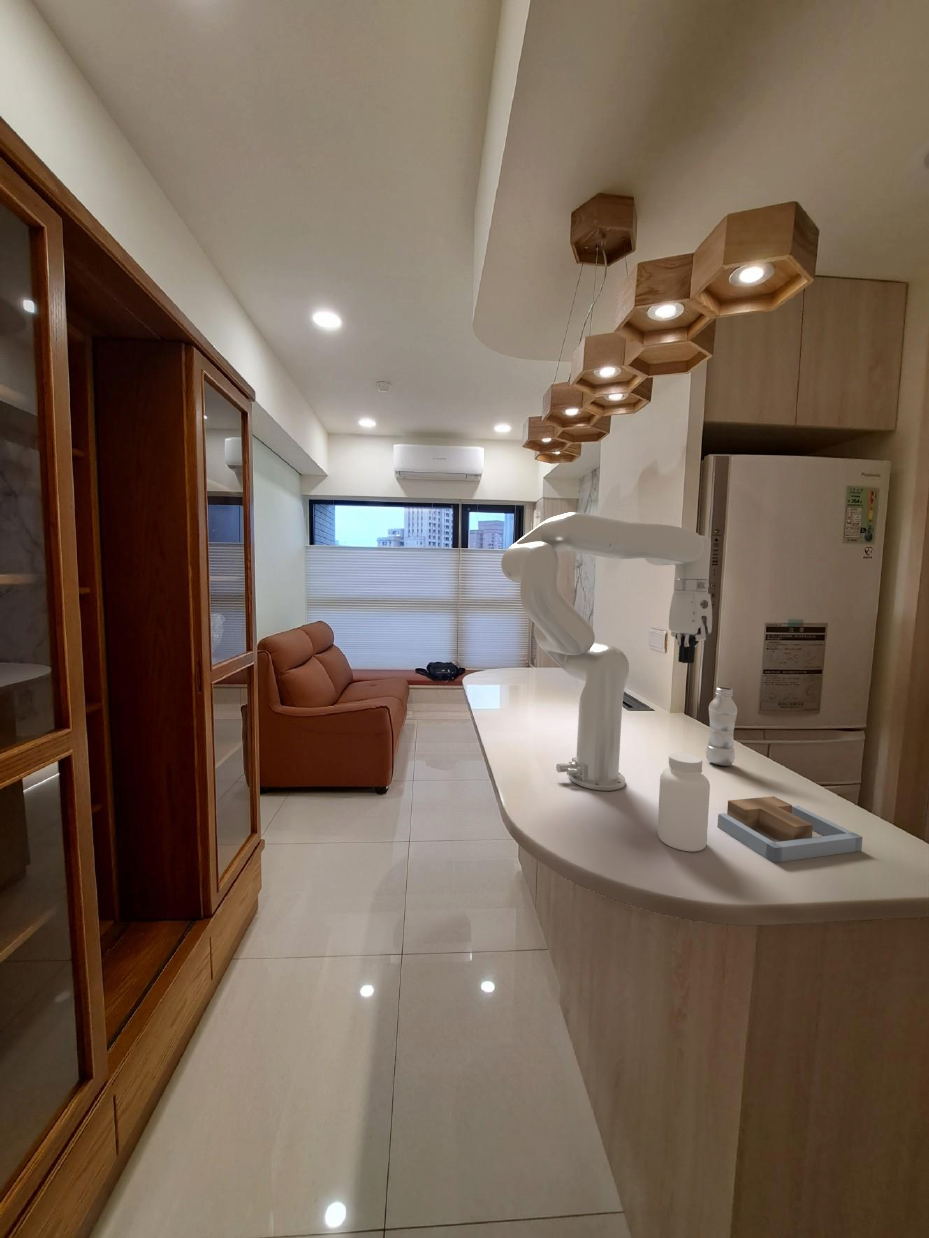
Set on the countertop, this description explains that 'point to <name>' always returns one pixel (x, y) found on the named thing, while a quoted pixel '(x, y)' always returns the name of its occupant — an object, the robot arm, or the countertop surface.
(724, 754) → the plastic bottle
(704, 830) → the pill bottle
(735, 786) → the countertop surface
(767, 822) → the t block
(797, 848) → the frame
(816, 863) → the countertop surface
